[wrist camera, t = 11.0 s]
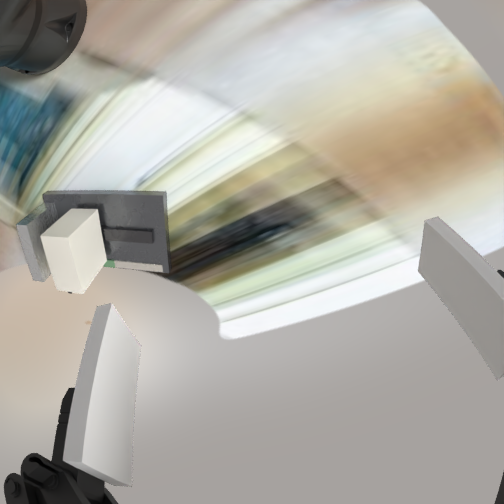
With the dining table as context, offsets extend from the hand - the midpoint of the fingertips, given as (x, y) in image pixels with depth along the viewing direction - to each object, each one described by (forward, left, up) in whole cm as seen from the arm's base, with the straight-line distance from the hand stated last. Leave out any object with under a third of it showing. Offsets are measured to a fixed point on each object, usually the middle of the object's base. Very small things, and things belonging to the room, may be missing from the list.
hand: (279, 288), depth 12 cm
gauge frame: (0, -29, -30) cm, 42 cm away
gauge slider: (0, -31, -28) cm, 42 cm away
